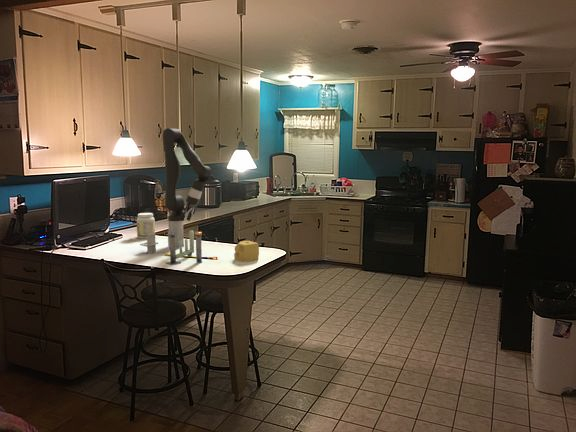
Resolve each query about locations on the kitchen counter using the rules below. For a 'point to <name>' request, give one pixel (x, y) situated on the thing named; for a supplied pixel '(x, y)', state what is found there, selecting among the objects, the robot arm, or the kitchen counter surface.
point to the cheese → (246, 251)
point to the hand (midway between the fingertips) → (184, 220)
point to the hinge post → (172, 250)
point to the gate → (191, 250)
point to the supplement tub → (145, 225)
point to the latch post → (198, 247)
